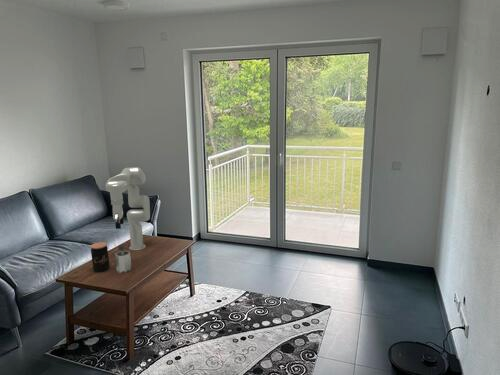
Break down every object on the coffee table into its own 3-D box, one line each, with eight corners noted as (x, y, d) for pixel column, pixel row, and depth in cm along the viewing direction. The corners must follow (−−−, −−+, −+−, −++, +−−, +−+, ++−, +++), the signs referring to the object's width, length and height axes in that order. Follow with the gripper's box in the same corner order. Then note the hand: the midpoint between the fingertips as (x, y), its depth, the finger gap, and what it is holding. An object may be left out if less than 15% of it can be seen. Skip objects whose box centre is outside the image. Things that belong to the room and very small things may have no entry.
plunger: (119, 263, 262) (117, 243, 259) (129, 262, 263) (127, 243, 260) (117, 267, 256) (115, 247, 253) (127, 266, 257) (125, 246, 254)
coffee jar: (94, 273, 255) (91, 248, 251) (92, 268, 264) (89, 243, 260) (110, 270, 260) (107, 245, 256) (108, 264, 269) (105, 241, 265)
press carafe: (119, 266, 266) (117, 250, 264) (132, 264, 268) (131, 249, 265) (115, 273, 255) (113, 256, 252) (130, 272, 256) (128, 255, 254)
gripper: (114, 198, 258) (116, 222, 262) (108, 205, 241) (111, 230, 245) (125, 198, 259) (127, 221, 263) (120, 205, 242) (123, 230, 246)
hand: (119, 226), depth 254 cm, fingers open, 9 cm apart
